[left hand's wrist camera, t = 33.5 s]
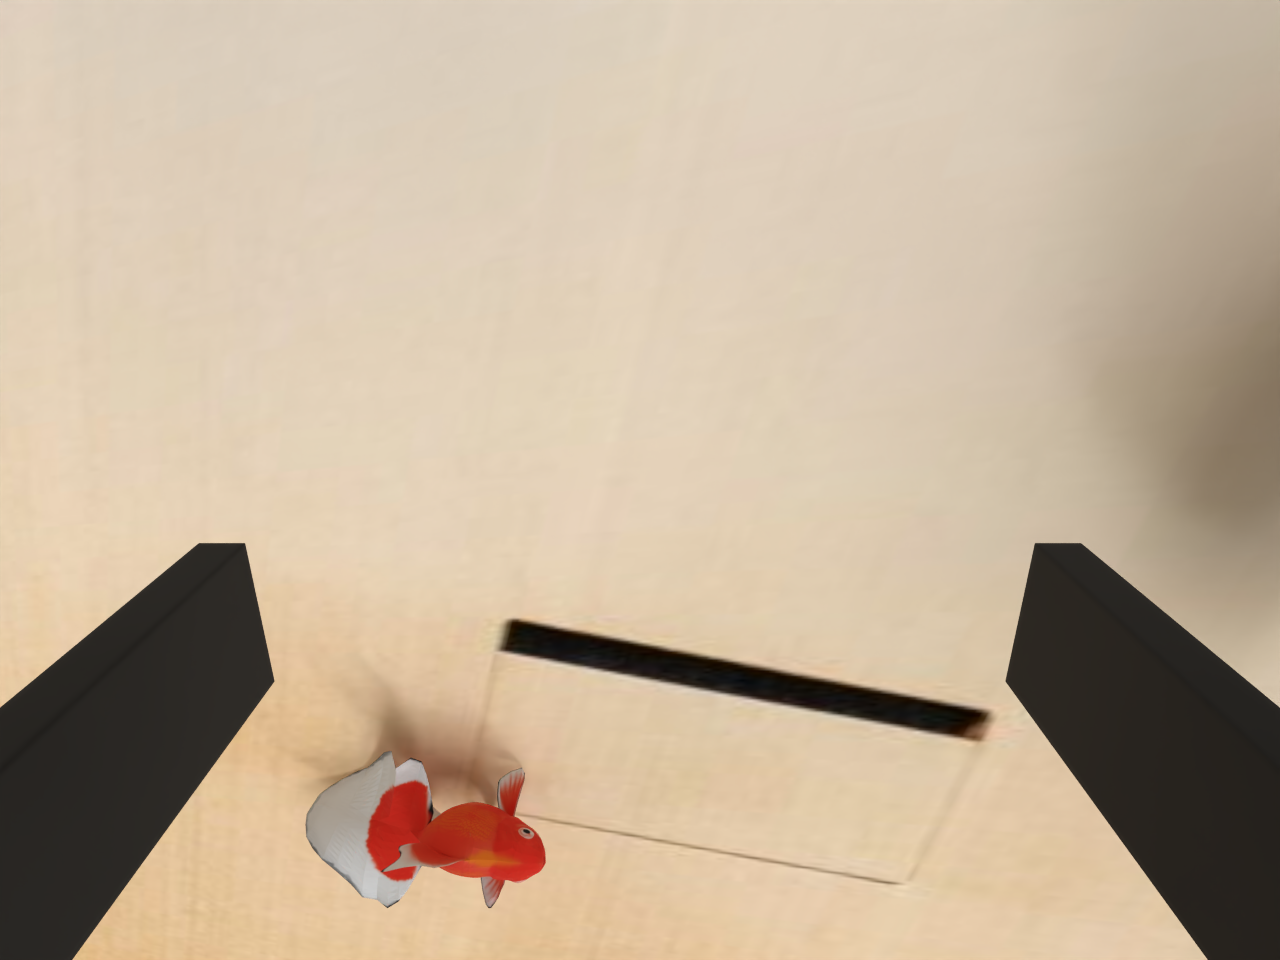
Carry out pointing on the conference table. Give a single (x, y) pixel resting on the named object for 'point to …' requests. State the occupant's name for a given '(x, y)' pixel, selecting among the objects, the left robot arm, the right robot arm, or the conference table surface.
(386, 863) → the fish
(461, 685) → the conference table surface
